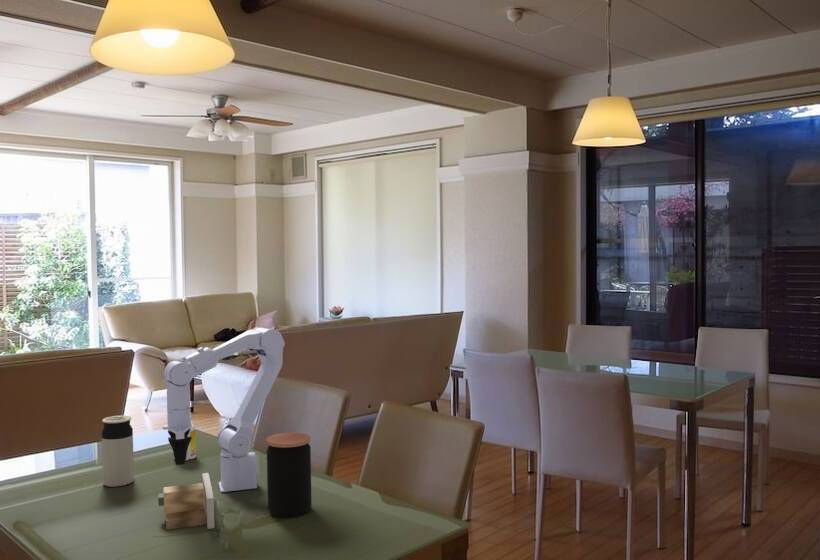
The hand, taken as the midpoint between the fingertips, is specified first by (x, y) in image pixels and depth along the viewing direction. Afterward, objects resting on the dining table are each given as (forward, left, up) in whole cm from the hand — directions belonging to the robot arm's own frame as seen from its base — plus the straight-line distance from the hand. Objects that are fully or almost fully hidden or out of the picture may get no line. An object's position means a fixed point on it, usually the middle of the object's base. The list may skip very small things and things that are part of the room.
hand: (180, 460), depth 185 cm
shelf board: (-6, +14, -10) cm, 18 cm away
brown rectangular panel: (-1, +14, -10) cm, 17 cm away
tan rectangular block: (0, +14, -8) cm, 16 cm away
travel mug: (+16, -19, -10) cm, 27 cm away
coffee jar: (-25, +19, -10) cm, 33 cm away
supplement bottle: (-2, -37, -10) cm, 38 cm away
